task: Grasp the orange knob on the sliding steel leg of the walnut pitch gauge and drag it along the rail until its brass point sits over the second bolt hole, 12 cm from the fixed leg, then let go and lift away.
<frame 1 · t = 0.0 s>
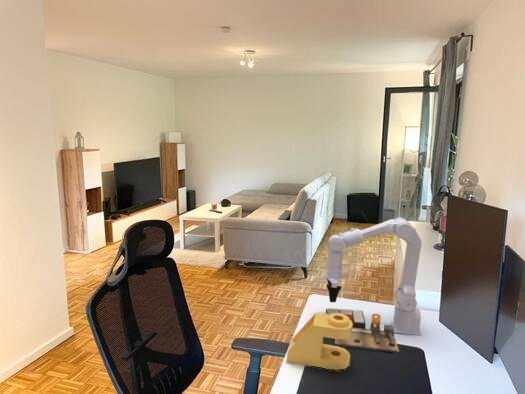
hand: (332, 297, 151), 10 cm above the table, fingers open, 7 cm apart
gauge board: (364, 340, 139), on the table
button panel: (344, 324, 152), on the table
slider leg: (376, 327, 138), point 5 cm above the table, slide at 0.0 cm
yellow clevis bracket: (318, 360, 126), on the table
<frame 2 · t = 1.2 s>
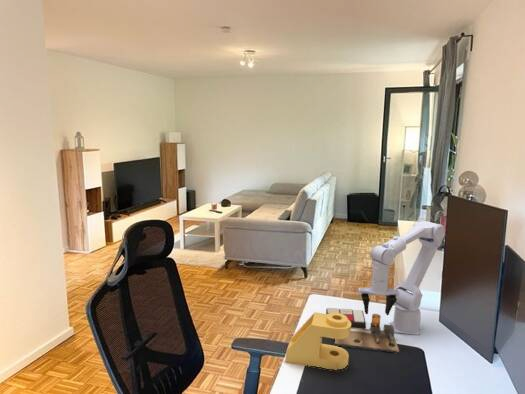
hand: (376, 313, 140), 10 cm above the table, fingers open, 7 cm apart
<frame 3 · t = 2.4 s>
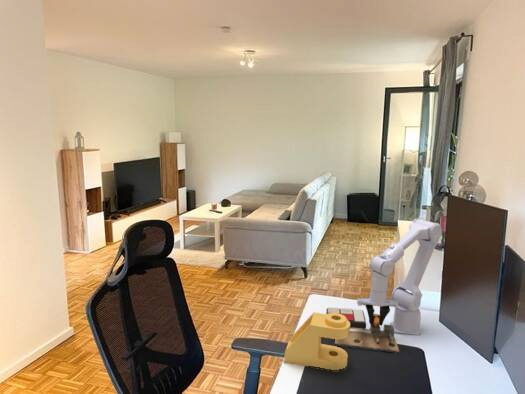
hand: (375, 323, 141), 5 cm above the table, fingers closed on slider leg, 3 cm apart
slider leg: (376, 327, 138), point 5 cm above the table, slide at 0.0 cm, touching gripper
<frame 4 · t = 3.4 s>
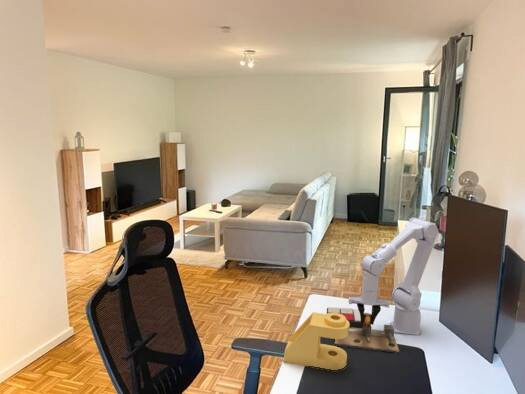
hand: (366, 322, 141), 5 cm above the table, fingers closed on slider leg, 3 cm apart
slider leg: (367, 326, 139), point 5 cm above the table, slide at 3.2 cm, touching gripper
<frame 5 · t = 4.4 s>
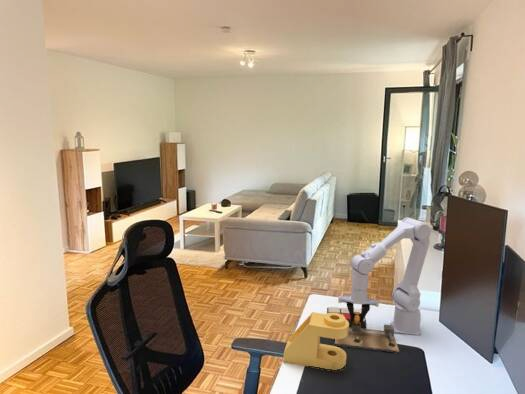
hand: (356, 321, 142), 5 cm above the table, fingers closed on slider leg, 3 cm apart
slider leg: (357, 325, 139), point 5 cm above the table, slide at 7.0 cm, touching gripper
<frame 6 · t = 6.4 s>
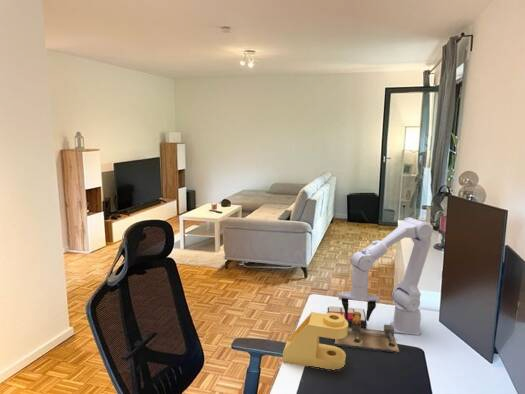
hand: (356, 318, 141), 7 cm above the table, fingers open, 7 cm apart
slider leg: (356, 325, 139), point 5 cm above the table, slide at 7.0 cm
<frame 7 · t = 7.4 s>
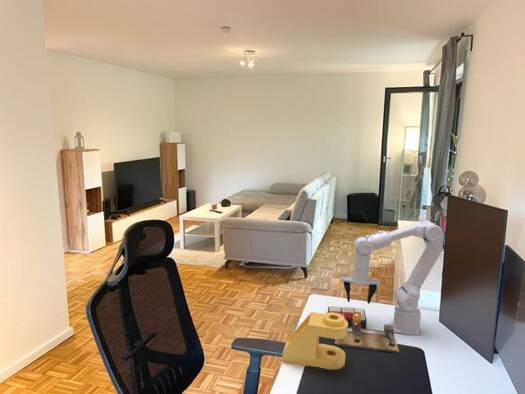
hand: (358, 301, 148), 10 cm above the table, fingers open, 7 cm apart
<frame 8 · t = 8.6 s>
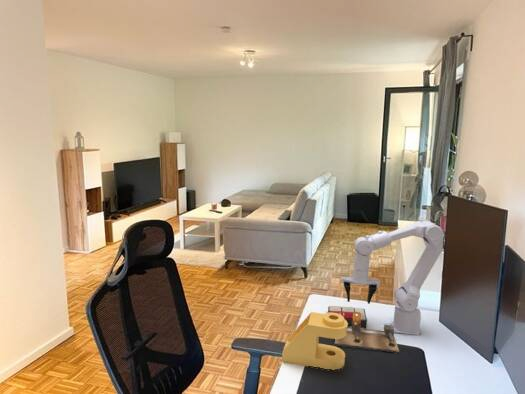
hand: (358, 301, 148), 10 cm above the table, fingers open, 7 cm apart
at the end: slider leg slide at 7.0 cm; yellow clevis bracket moved 1.8 cm from its start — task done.
